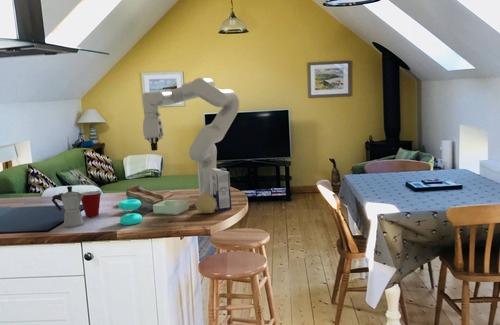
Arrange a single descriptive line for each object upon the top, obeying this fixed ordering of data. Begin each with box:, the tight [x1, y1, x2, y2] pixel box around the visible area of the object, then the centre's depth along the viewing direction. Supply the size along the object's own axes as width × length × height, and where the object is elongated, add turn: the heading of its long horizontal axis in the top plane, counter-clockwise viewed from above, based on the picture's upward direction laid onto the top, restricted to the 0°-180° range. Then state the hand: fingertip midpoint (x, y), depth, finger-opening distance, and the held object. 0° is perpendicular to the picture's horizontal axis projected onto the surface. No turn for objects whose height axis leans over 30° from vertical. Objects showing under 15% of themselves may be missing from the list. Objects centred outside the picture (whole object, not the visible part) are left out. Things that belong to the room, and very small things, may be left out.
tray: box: [152, 199, 190, 216], centre depth 245 cm, size 13×11×4 cm
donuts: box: [117, 199, 143, 226], centre depth 228 cm, size 10×10×10 cm
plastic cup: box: [79, 190, 103, 218], centre depth 244 cm, size 11×11×12 cm
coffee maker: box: [51, 185, 85, 229], centre depth 229 cm, size 15×9×18 cm, turn 92°
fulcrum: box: [131, 201, 154, 214], centre depth 251 cm, size 8×12×5 cm, turn 155°
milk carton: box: [211, 167, 233, 212], centre depth 243 cm, size 7×7×20 cm
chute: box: [125, 184, 174, 205], centre depth 254 cm, size 16×18×4 cm
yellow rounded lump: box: [195, 192, 217, 214], centre depth 236 cm, size 10×12×11 cm
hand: (154, 150), depth 267 cm, fingers closed
